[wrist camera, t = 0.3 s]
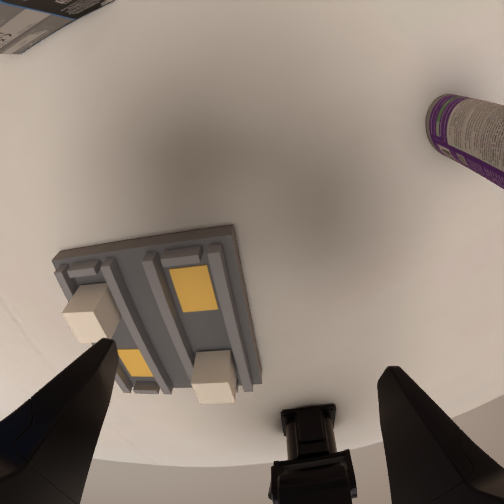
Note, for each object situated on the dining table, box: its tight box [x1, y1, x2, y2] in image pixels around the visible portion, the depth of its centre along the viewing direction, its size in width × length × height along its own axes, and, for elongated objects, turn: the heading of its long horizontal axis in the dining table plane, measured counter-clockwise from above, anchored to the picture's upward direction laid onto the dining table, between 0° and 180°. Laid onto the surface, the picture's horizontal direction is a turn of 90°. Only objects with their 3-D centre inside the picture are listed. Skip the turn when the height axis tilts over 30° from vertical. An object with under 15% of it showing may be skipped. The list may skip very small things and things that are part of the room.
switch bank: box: [52, 225, 262, 394], centre depth 26 cm, size 16×15×3 cm
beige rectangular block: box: [191, 350, 237, 404], centre depth 25 cm, size 3×3×4 cm
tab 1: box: [62, 283, 122, 343], centre depth 22 cm, size 3×3×4 cm
